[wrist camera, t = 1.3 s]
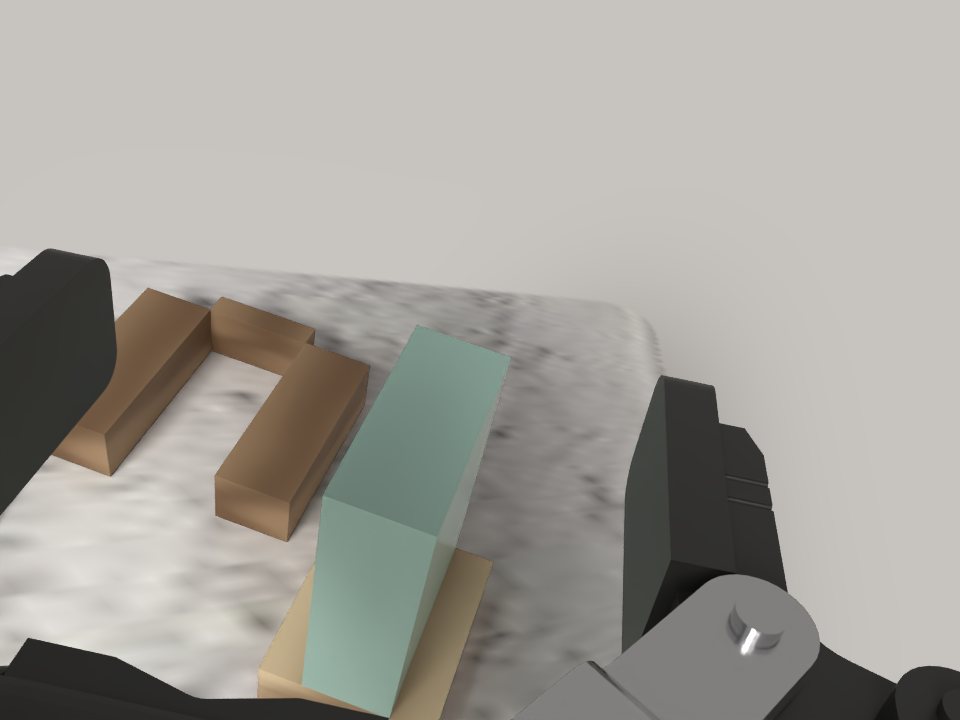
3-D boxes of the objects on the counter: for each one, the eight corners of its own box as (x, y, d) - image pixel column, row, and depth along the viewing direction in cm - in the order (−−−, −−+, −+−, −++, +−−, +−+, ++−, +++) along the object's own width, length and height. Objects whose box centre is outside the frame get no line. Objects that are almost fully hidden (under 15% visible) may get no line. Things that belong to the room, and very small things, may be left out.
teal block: (301, 685, 29) (322, 495, 22) (380, 520, 34) (417, 325, 28) (389, 719, 29) (437, 537, 22) (455, 548, 34) (511, 357, 27)
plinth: (257, 697, 31) (258, 668, 29) (339, 537, 36) (343, 507, 35) (424, 761, 30) (433, 736, 29) (483, 591, 35) (493, 561, 34)
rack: (41, 451, 36) (31, 408, 34) (162, 316, 43) (160, 274, 41) (286, 542, 35) (289, 502, 34) (372, 390, 42) (378, 351, 40)
